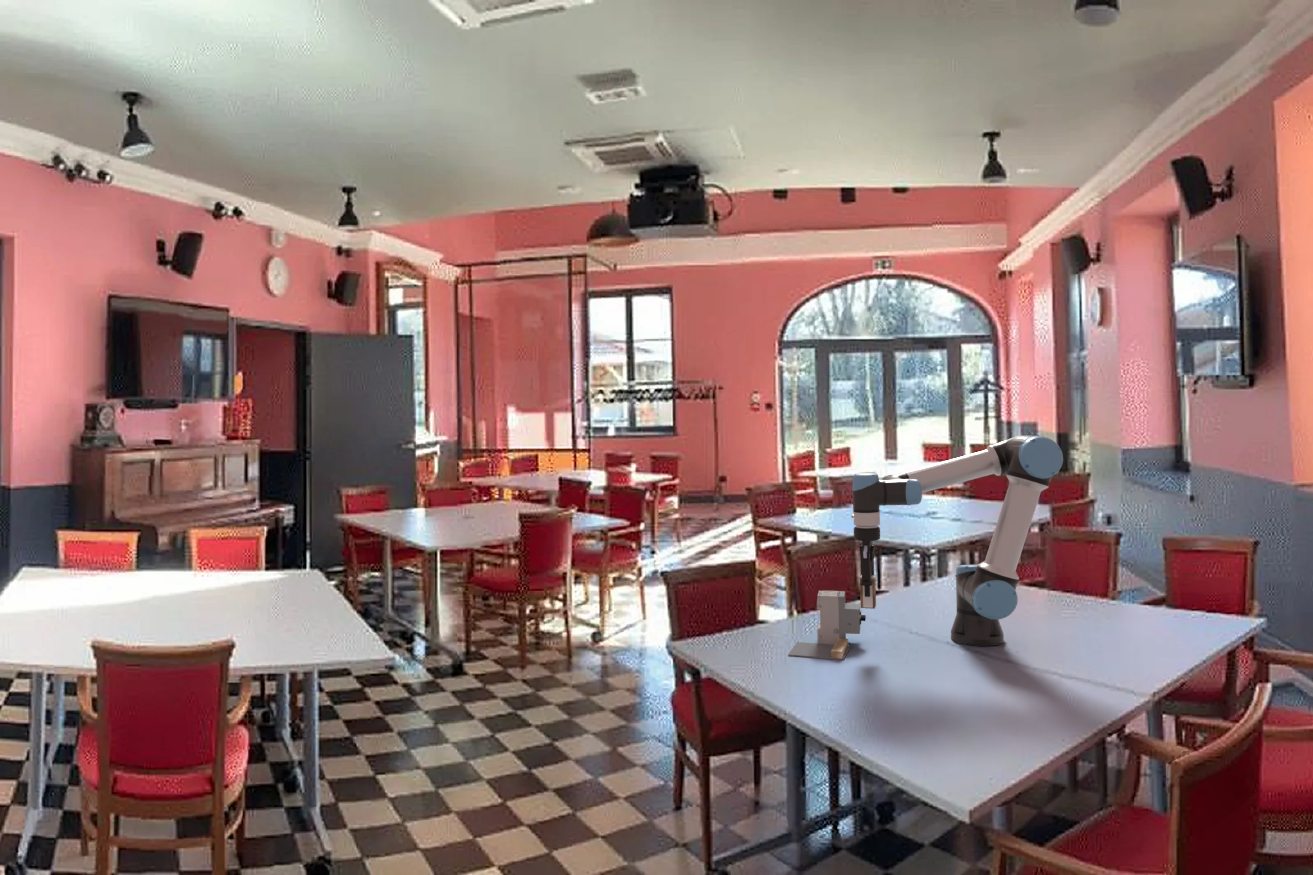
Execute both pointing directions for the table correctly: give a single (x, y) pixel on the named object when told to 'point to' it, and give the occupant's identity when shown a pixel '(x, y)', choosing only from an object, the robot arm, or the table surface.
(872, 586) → the block
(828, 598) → the circuit breaker
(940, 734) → the table surface
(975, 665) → the table surface
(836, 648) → the ledge
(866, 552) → the robot arm
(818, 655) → the mat
